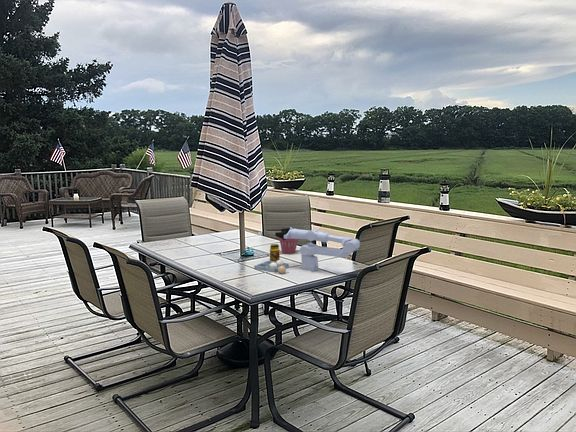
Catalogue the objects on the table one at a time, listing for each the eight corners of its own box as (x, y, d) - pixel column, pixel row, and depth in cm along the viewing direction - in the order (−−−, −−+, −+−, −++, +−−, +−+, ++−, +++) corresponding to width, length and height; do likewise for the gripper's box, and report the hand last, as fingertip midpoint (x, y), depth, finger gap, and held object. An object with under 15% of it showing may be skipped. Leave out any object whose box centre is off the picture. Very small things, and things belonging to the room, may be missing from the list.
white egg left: (278, 269, 278) (278, 262, 277) (274, 271, 274) (274, 263, 273) (272, 268, 280) (272, 261, 279) (267, 270, 276) (267, 262, 275)
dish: (289, 273, 272) (289, 272, 272) (283, 276, 267) (283, 274, 267) (280, 272, 275) (280, 270, 275) (274, 274, 270) (274, 273, 270)
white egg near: (284, 267, 283) (284, 259, 283) (280, 268, 280) (280, 261, 279) (278, 266, 286) (278, 258, 285) (274, 267, 282) (274, 260, 281)
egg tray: (288, 268, 284) (288, 263, 284) (275, 274, 272) (275, 269, 271) (268, 265, 292) (268, 260, 291) (254, 270, 279) (254, 265, 279)
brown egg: (287, 273, 272) (287, 265, 271) (283, 275, 268) (283, 267, 267) (280, 272, 274) (280, 264, 273) (276, 274, 270) (276, 266, 269)
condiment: (276, 265, 292) (276, 246, 290) (265, 263, 296) (264, 244, 295) (282, 262, 298) (282, 244, 297) (271, 261, 303) (270, 242, 301)
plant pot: (303, 252, 325) (303, 234, 323) (287, 255, 316) (287, 237, 315) (290, 249, 336) (290, 231, 334) (274, 252, 328) (274, 234, 326)
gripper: (303, 224, 286) (283, 223, 292) (292, 231, 274) (272, 229, 280) (304, 235, 288) (284, 233, 294) (293, 242, 276) (273, 240, 282)
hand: (278, 232), depth 287 cm, fingers open, 7 cm apart
